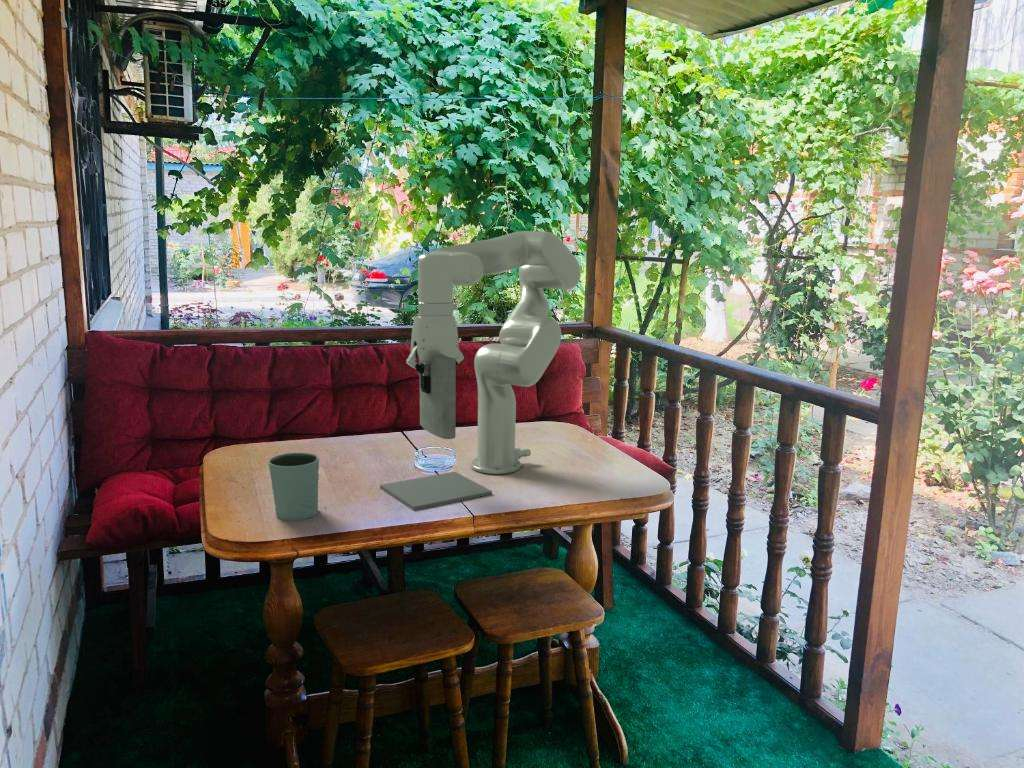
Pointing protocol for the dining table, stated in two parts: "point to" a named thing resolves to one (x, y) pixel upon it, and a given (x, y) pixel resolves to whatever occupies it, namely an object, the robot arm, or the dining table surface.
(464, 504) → the dining table surface
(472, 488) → the rubber mat
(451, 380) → the hip flask
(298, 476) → the green cup
